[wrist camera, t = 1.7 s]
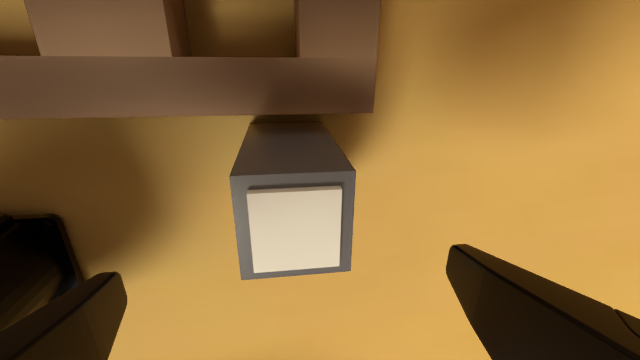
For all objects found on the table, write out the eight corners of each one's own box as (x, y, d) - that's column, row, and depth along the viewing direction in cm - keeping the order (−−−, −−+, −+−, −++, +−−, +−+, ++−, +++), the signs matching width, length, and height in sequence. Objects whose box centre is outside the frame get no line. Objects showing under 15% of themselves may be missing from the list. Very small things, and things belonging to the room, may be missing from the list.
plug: (321, 187, 19) (352, 276, 11) (255, 190, 18) (240, 286, 11) (321, 122, 17) (358, 173, 10) (249, 123, 17) (228, 179, 9)
